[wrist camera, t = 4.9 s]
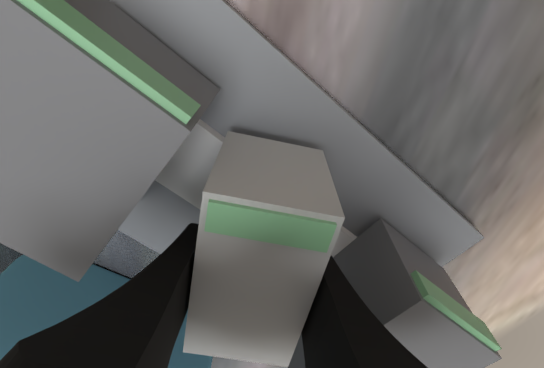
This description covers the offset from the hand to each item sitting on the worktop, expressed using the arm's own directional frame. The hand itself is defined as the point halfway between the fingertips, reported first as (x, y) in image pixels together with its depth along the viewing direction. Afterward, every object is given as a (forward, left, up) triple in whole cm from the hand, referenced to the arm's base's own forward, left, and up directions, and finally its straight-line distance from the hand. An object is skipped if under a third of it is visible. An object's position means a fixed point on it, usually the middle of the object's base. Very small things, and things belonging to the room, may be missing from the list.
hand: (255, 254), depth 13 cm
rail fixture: (0, 0, -5) cm, 5 cm away
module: (0, 0, -3) cm, 3 cm away
